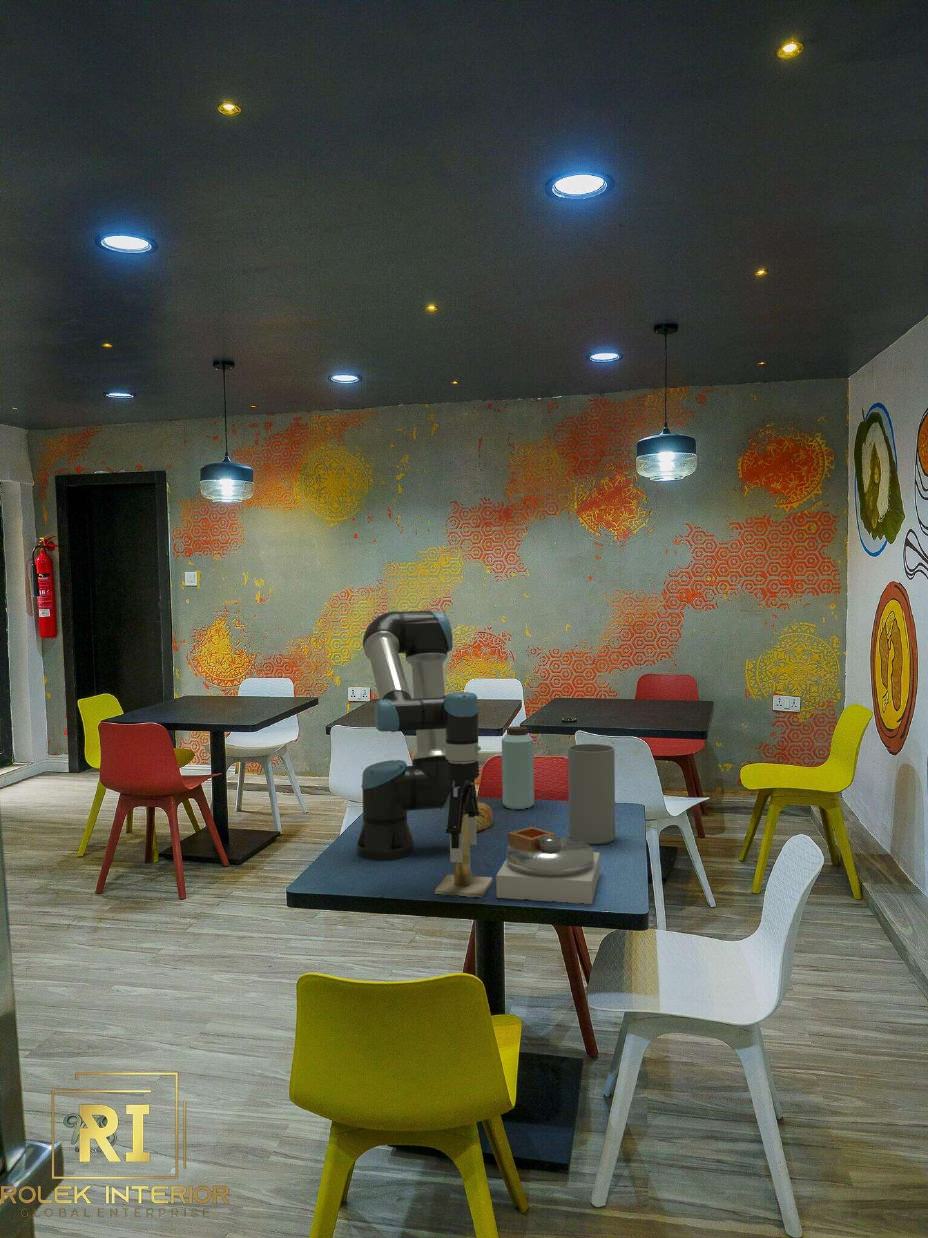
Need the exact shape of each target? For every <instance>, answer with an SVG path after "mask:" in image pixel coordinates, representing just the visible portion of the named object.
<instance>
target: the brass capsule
mask: <svg viewBox="0 0 928 1238" xmlns="http://www.w3.org/2000/svg"><path fill="white" fill-rule="evenodd" d="M454 827H455V826H454ZM461 832H462V836H463V862H462V863H460V862H452V864H453V865H452V867H453V875H454V885H456V886H461V887H463V886H468V885H471V883H472V882H471V876H472V866H471V845H470V842H469V822H468V813H465V812H464V815H463V822H462V828H461Z"/></svg>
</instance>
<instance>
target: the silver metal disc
mask: <svg viewBox="0 0 928 1238" xmlns="http://www.w3.org/2000/svg"><path fill="white" fill-rule="evenodd" d="M507 844H508V845H507V847H506V859H507V865H508V866H509V867H510V868H512V869H514V870H516V871H518V872H521V873H525V874H530V875H536V876H569V875H575V874H579V873H583V872H585V871H587V870H589V869H591V868H592V867H593V865H594V852H595V850H594V848H593V847H592V846H591V844H587V843H584V842H582V841H578V840H574V839H571V838H570V837H560V836H557V833H555V832H552V831H549V830H546V829H541V828H538V827H535V826H529V827H525V828H522V829H517V830H514V831H510V832H509V831H508V832H507Z"/></svg>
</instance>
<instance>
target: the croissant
mask: <svg viewBox="0 0 928 1238" xmlns="http://www.w3.org/2000/svg"><path fill="white" fill-rule="evenodd" d="M477 803H478V811H479V812H480V815H479V816H475V817H476V833H477V832H478V833H479V832H480V831H484V830H486V829H488V828H490V827H492V823H493V815H494V814H493V813H494V812H493V811H492V809H491V806H489V804H486V803H484V802H483V801H477ZM464 812H465V811H464Z"/></svg>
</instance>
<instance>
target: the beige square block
mask: <svg viewBox="0 0 928 1238" xmlns="http://www.w3.org/2000/svg"><path fill="white" fill-rule="evenodd" d="M600 857H601V853H600V851H599V852H597V851H596V852H595V851H594V865H593V867H592V868H591V869H589V870H587V871H585V872H583V873H579V874H575V875H569V876H536V875H530V874H525V873H521V872H518V871H516V870H514V869H512V868H510V867H509V866H508V865H507V858H506V859H505V860H504V863H502V866H501V867H500V869H499V871H498V872H497V874H496V875H495V877H496V879H495V880H496V881H495V882H496V898H498V899H499V898H500V899H510V900H512V899H514V900H524V899H528V901H537V902H538V901H539V902H541V901H542V902H552V901H557V902H556V903H566V902H568V904H569V903H570V904H580V903H584V904H583V905H592V904H593V902H594V897H595V893H596V890H597V886H598V884H599V883H598V881H599V879H600V875H601V863H600V861H601V858H600ZM529 899H530V900H529Z"/></svg>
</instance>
